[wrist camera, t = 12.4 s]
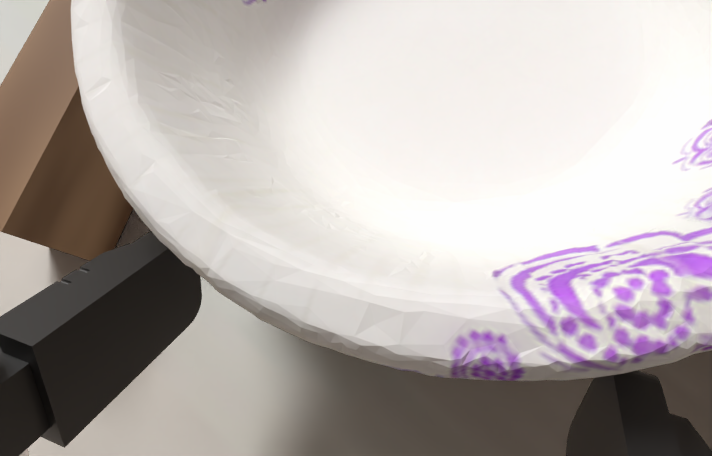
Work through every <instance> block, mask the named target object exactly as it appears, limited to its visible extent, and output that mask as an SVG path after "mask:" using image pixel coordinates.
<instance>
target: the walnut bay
mask: <svg viewBox="0 0 712 456" xmlns="http://www.w3.org/2000/svg"><path fill="white" fill-rule="evenodd" d="M132 210H133V207H132V206H131V205H130V203H129V202H128V201H127V200H126V199H125V198H124V196H123V193H122V191H121V190H120V188H119V187H118V185H117V183H116V182H115V180H114V178H113V176H112V174H111V173H110V171H109V169H108V167H107V165H106V163H105V161H104V158H103V156H102V154H101V152H100V151H99V149H98V148H97V145H96V142H95V139H94V136H93V135H92V133H91V130H90V127H89V124H88V121H87V118H86V115H85V112H84V109H83V106H82V101H81V95H80V90H79V85H78V80H77V77H76V74H75V67H74V57H73V46H72V31H71V0H50V1H49V2H48V4H47V6H46V7H45V9H44V11H43V13H42V14H41V16H40V18H39V20H38V21H37V23H36V25H35V27H34V28H33V30H32V32H31V34H30V35H29V37H28V39H27V41H26V42H25V44H24V46H23V47H22V49H21V51H20V53H19V54H18V56H17V58H16V60H15V61H14V63H13V65H12V67H11V68H10V70H9V72H8V74H7V75H6V77H5V79H4V81H3V82H2V84H1V86H0V231H1V232H4V233H7V234H10V235H13V236H16V237H19V238H22V239H25V240H28V241H31V242H34V243H37V244H40V245H43V246H46V247H50V248H53V249H56V250H59V251H62V252H65V253H68V254H71V255H74V256H77V257H80V258H83V259H86V260H89V261H91V260H92V259H94V258H95V257H97V256H99V255H100V254H102V253H104V252H107V251H110V250H113V249H114V248H115V246H116V244H117V242H118V240H119V238H120V235H121V233H122V231H123V229H124V227H125V225H126V223H127V220H128V218H129V216H130V214H131V212H132Z"/></svg>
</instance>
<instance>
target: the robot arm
mask: <svg viewBox="0 0 712 456" xmlns="http://www.w3.org/2000/svg"><path fill="white" fill-rule="evenodd" d="M201 299H202V293H201V280H200V275H198V274H197V273H196V272H195V271H194V270H193V268H191V267H189V266H186V265H185V264H184V263H183V262H182V261H181V260H180V259H179V258H178V257H177V256H176V255H175V254H174V253H173V252H172V251H171V250H170V249H169V248H168V247H166V246H165V245H164V244H163V243H162V242H160V241H159V239H158V238H157V237H156V236H155V235H154V233H153V232H152V231H150V232H149V233H147V234H146V235H144V236H143V237H141V238H140V239H138V240H136V241H135V242H133V243H132V244H127V245H124V246H122V247H119V248H116V249H113V250H110V251H107V252H104V253H102V254H100V255H99V256H97V257H95V258H94V259H92V260H91V261H89V262H87V263H86V264H84V265H83V266H81V267H80V270H75V271H73V272H71V273H70V274H68V275H66V276H65V277H63V278H62V280H61V282H55V283H54V284H52V285H50V286H49V287H47V288H46V289H44V290H42V291H41V292H39V293H38V294H36V295H34V296H33V297H31V298H29V299H28V300H26V301H25V302H23V303H21V304H20V305H18V306H17V307H15V308H13V309H12V310H10V311H9V312H7V313H5V314H4V315H2V316H1V317H0V456H29V451H28V449H27V448H28V447H29V446H30V445H31V444H33V443H34V442H35V441H36V440H37V439H38V438H39V437H43V438H45V439H47V440H49V441H51V442H54V443H56V444H58V445H60V446H62V447H66V446H67V445H68V444H69V443H70V442H71V441H72V440H73V439H74V438H75V437H76V436H77V435H78V434H79V433H80V432H81V431H82V430H83V429H84V428H85V427H86V426H87V425H88V424H89V423H90V422H91V421H92V420H93V419H94V418H95V417H96V416H97V415H98V414H99V413H100V412H101V411H102V410H103V409H104V408H105V407H106V406H107V405H108V404H109V403H110V402H111V401H112V400H113V399H115V398H116V397H117V396H118V395H119V394H120V393H121V392H122V391H123V390H124V389H125V388H126V387H127V386H128V385H129V384H130V383H131V382H132V381H133V380H134V379H135V378H136V377H137V376H138V375H139V374H140V373H141V372H142V371H143V370H144V369H145V368H146V367H147V366H148V365H149V364H150V363H151V362H152V361H153V360H154V359H155V358H156V357H157V356H158V355H159V354H160V353H161V352H162V351H163V350H164V349H166V348H167V347H168V346H169V345H170V344H171V343H172V342H173V341H174V340H175V339H176V338H177V337H178V336H179V335H180V334H181V333H182V332H183V331H184V330H185V329H186V328H187V327H188V326H189V325H190V324H191V323H192V321H193V320H194V319H195V317H196V315H197V313H198V311H199V308H200V305H201ZM566 456H712V451H711V449H710V448H709V447H708V445H707V444H706V443H705V441H704V440H703V439H702V438H701V436H700V435H699V434H698V432H697V431H696V430H695V428H694V427H693V426H692V425H691V423H690V422H689V421H688V419H686V418H682V417H679V416H676V415H673V414H670V413H669V411H668V407H667V404H666V401H665V397H664V394H663V390H662V387H661V384H660V381H659V380H658V378H657V377H656V376H654V375H651V374H647V373H644V372H641V371H637V370H636V371H632V372H628V373H623V374H616V375H610V376H603V377H596V378H594V379H593V381H592V383H591V385H590V387H589V389H588V391H587V393H586V395H585V397H584V399H583V401H582V403H581V405H580V407H579V409H578V411H577V413H576V415H575V417H574V419H573V421H572V424H571V427H570V430H569V434H568V439H567V447H566Z"/></svg>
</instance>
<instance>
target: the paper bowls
mask: <svg viewBox="0 0 712 456" xmlns="http://www.w3.org/2000/svg"><path fill="white" fill-rule="evenodd" d="M71 31H72V46H73V57H74V67H75V74H76V77H77V80H78V85H79V90H80V95H81V101H82V106H83V109H84V112H85V115H86V118H87V121H88V124H89V127H90V130H91V133H92V135H93V136H94V139H95V142H96V145H97V148H98V149H99V151H100V152H101V154H102V156H103V158H104V161H105V163H106V165H107V167H108V169H109V171H110V173H111V174H112V176H113V178H114V180H115V182H116V183H117V185H118V187H119V188H120V190H121V191H122V193H123V196H124V198H125V199H126V200H127V201H128V202H129V203H130V205H131V206H132V207H133V209H134V210H135V211H136V213H137V214H138V216H139V217H140V218H141V220H142V221H143V222H144V223H145V224H146V225H147V227H148V228H149V229H150V230H151V231H152V232H153V233H154V235H155V236H156V237H157V238H158V239H159V241H160V242H162V243H163V244H164V245H165V246H166V247H168V248H169V249H170V250H171V251H172V252H173V253H174V254H175V255H176V256H177V257H178V258H179V259H180V260H181V261H182V262H183V263H184V264H185V265H186V266H189V267H191V268H193V270H194V271H195V272H196V273H197V274H198V275H200V276H201V277H203V278H204V279H205V280H207V281H208V282H209V283H210V284H211V285H212V286H213V287H214V288H215V289H216V290H217V291H218V292H219V293H221V294H222V295H224V296H225V297H227V298H228V299H230V300H232V301H233V302H235V303H236V304H238V305H239V306H241V307H242V308H244V309H246V310H247V311H249V312H250V313H252V314H253V315H255V316H256V317H257V318H259V319H260V320H262V321H264V322H267V323H269V324H271V325H273V326H275V327H277V328H279V329H281V330H283V331H285V332H288V333H290V334H292V335H294V336H297V337H299V338H301V339H303V340H305V341H307V342H310V343H313V344H316V345H319V346H322V347H326V348H329V349H333V350H336V351H338V352H341V353H344V354H346V355H349V356H353V357H356V358H359V359H362V360H365V361H369V362H373V363H377V364H380V365H384V366H387V367H391V368H394V369H398V370H403V371H413V372H417V373H421V374H424V375H428V376H437V377H442V378H463V379H475V380H495V381H497V380H499V381H501V380H502V381H540V380H563V381H564V380H575V379H586V378H596V377H603V376H610V375H616V374H623V373H628V372H632V371H636V370H641V369H645V368H650V367H655V366H660V365H664V364H669V363H674V362H677V361H679V360H681V359H683V358H686V357H688V356H690V355H693V354H696V353H701V352H706V351H711V350H712V0H71Z"/></svg>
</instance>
